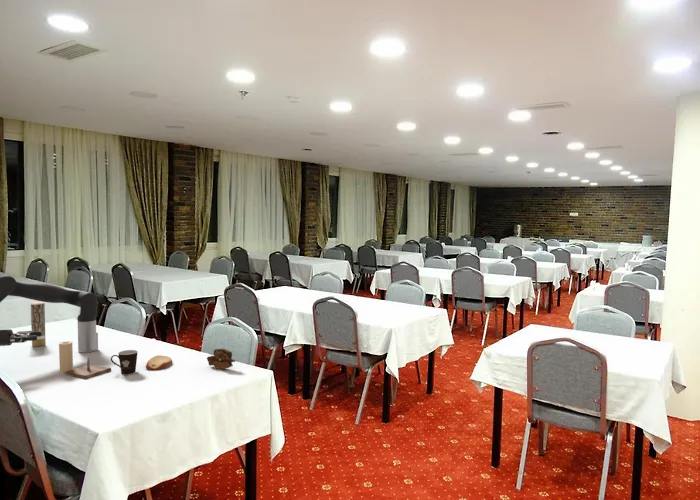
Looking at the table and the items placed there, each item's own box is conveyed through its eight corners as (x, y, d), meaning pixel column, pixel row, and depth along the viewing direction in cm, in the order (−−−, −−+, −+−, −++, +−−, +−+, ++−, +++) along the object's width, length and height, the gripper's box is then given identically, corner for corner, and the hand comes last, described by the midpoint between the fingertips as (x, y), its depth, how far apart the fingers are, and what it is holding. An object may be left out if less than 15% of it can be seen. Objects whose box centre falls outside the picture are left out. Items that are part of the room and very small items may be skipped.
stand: (91, 366, 259) (91, 352, 258) (110, 370, 253) (110, 355, 252) (65, 374, 246) (65, 359, 245) (85, 378, 240) (85, 363, 239)
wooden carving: (204, 368, 259) (204, 348, 259) (209, 365, 264) (209, 346, 263) (232, 371, 254) (232, 351, 253) (237, 369, 258) (237, 349, 257)
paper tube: (39, 347, 296) (38, 304, 294) (29, 346, 297) (27, 303, 295) (48, 344, 302) (47, 302, 300) (38, 343, 304) (37, 301, 302)
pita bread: (162, 358, 277) (162, 351, 277) (183, 364, 267) (183, 356, 266) (132, 366, 262) (131, 358, 262) (153, 372, 252) (152, 365, 252)
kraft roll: (67, 368, 255) (67, 340, 254) (75, 370, 253) (74, 342, 252) (57, 371, 250) (56, 343, 250) (64, 373, 248) (64, 344, 247)
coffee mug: (141, 370, 253) (141, 350, 252) (129, 376, 245) (128, 355, 244) (123, 368, 257) (122, 348, 256) (109, 373, 249) (109, 353, 248)
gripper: (-6, 333, 234) (35, 331, 240) (4, 326, 248) (42, 325, 253) (-5, 349, 235) (35, 347, 240) (4, 342, 248) (42, 340, 254)
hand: (39, 335), depth 247 cm, fingers open, 8 cm apart
